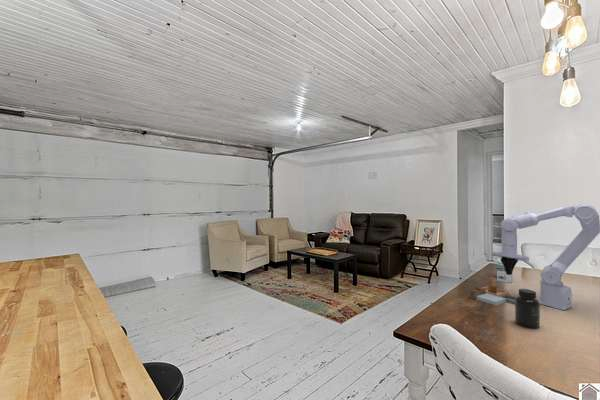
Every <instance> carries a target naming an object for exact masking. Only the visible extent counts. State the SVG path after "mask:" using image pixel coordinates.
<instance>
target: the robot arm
mask: <svg viewBox="0 0 600 400" xmlns="http://www.w3.org/2000/svg"><path fill="white" fill-rule="evenodd" d="M573 216H574V217H575V218H576V219H577V220H578V222H579V223H580V226H581V231H580V232H579V233H578V234H577V235H575V237H574V239H572V240H571V242H570V243H569V244H568V245H567V246H566V247H565V248H564V250H563V251H562V252H561V253H560V254H559V255H558V256H557V258H556V259H555V260H553V262H552V263H550V264H549V265H546V266H544V268H543V269H542V271H541V274H540V278H541V279H540V280H539V281H540V284H539V285H540V286H539V287H540V289H539V290H540V292H539V294H540V295H539V296H540V297H539V300H538V301H539V303H540V305H544V306H548V307H550V308H555V309H559V310H563V311H566V310H569V308H572V307H573V305H572V301H573V300H572V295H573V294H572V288H571V287H570V286H566V285H565V284H564V282H562V276H563V275H564V274H565V272H566V271H567V270H568V268H569V267H570V266H571V265H572V264H573V263H574V261H576V260H577V258H578V257H579V256H581V254H582V253H583V252H584V251H585V249H586V248H588V246H590V244H591V243H592V242H593V241H594V240H595V238H596V237H597V236H598V235H600V214H599V212H598V211H597V209H596V208H595V207H594V206H592V205H591V204H589V203H581V204H578V205H567V206H562V207H558V208H555V209H551V210H548V211H544V212H541V213H540V212H539V213H534V212H527V211H526V212H523V214H520V215H517V216H515V215H513V216H511V217H510V218H509V217H508V218H506V219H502V221H501V222H500V228H501V252H499V251H490V255H491V257H497V258H501V259H500V260H501V262H502V263H503V265H504V268H505V270H506V274H507V275H512V276H513V271H514V269H515V267H516V265H517V263H518V262H519V261H522V262H525V263H528V262H530V256H525V255H520V254H518V235H517V231H518V229H519V230H521V229H525V228H526V229H527V228H530V227H534V226H538V224H539V222H542V221H545V220H551V219H556V218H561V217H566V218H573Z"/></svg>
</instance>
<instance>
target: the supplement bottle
mask: <svg viewBox="0 0 600 400" xmlns="http://www.w3.org/2000/svg"><path fill="white" fill-rule="evenodd" d="M515 297H516V299H515V304H514V321H515V323H516V324H517V325H519V326H521V327H523V328H528V329H538V328H540V325H541V324H540V322H541V319H540V317H541V313H540V312H541V308H540V306H541V304H540V303H539V300H538V299H536V298H537V292H536V291H534V290H532V289H528V288H519V289H518V296H515Z"/></svg>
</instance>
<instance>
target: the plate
mask: <svg viewBox="0 0 600 400" xmlns="http://www.w3.org/2000/svg"><path fill="white" fill-rule="evenodd" d="M506 299H507V298H502V297H498V296H495V295H491V294H487V293H485V294H482V295H479V296H476V301H480V302H484V303H487V304H489V305H493V306H499V305H502V304H504V303H507V302H506Z"/></svg>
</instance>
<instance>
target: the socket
mask: <svg viewBox="0 0 600 400" xmlns="http://www.w3.org/2000/svg"><path fill="white" fill-rule="evenodd" d="M498 297H502V298H506V302H505V303H508V304H511V305H515V299H516V297H517V296H514V295H510V294H509V295H507V294H504V295H501V296H498Z"/></svg>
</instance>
